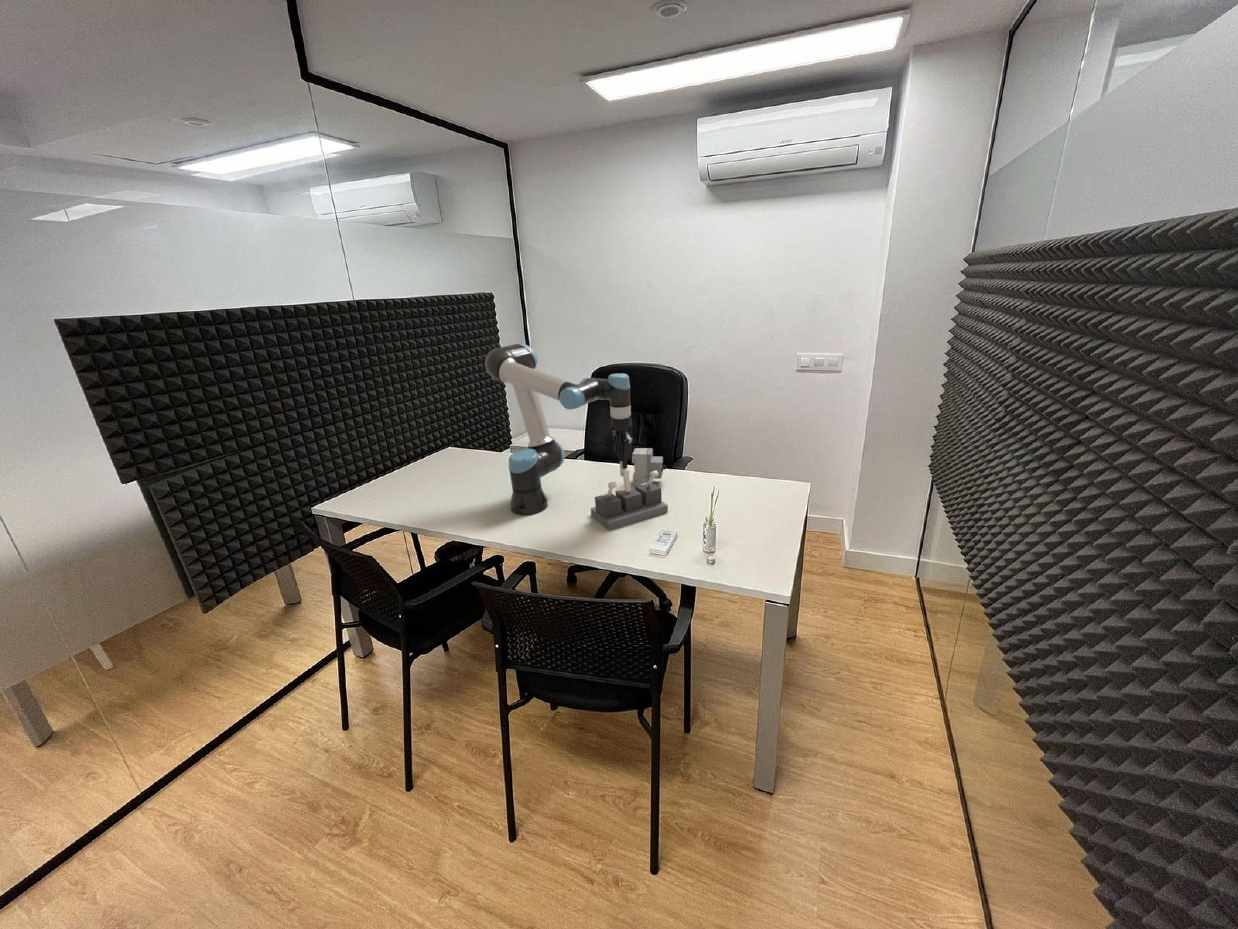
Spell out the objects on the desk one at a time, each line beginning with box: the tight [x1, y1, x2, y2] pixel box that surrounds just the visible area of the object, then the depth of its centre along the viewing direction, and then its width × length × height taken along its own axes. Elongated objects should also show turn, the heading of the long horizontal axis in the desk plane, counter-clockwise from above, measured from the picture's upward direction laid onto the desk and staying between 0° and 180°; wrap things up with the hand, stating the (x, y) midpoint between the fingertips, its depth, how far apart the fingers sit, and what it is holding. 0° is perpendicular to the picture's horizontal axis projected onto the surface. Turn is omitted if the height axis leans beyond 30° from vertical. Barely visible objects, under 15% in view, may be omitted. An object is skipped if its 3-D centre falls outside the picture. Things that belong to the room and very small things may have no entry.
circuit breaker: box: [631, 447, 667, 486], centre depth 213 cm, size 8×14×15 cm, turn 78°
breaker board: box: [590, 471, 669, 531], centre depth 186 cm, size 15×26×17 cm, turn 119°
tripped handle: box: [621, 467, 632, 492], centre depth 184 cm, size 2×2×9 cm
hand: (624, 475), depth 186 cm, fingers closed
